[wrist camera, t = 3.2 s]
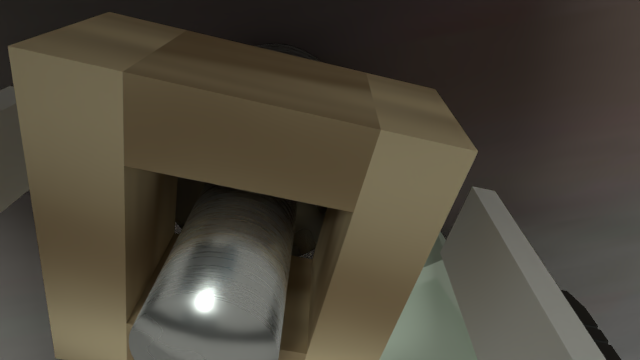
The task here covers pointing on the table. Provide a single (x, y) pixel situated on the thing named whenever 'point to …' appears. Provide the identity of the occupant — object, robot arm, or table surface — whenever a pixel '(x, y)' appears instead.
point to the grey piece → (226, 272)
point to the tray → (431, 318)
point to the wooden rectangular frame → (226, 175)
